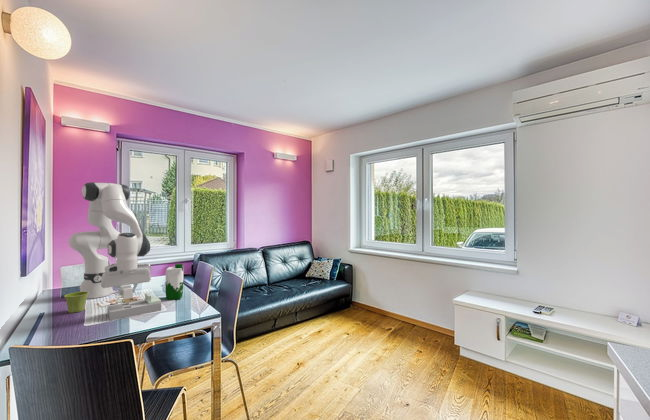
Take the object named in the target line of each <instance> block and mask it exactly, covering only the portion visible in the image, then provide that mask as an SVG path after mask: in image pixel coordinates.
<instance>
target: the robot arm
mask: <svg viewBox="0 0 650 420" xmlns="http://www.w3.org/2000/svg"><path fill="white" fill-rule="evenodd" d="M130 190H131V189H130V188H129V187H128V185H126V184H121V183H120V184H119V183H112V182H94V181H93V182H86V183H84V185H83V186H82V188H81V194H82V197H83V199H84V200H86V201H89V204H88V213H87V222H88V223H89V224H90V226H91V225H92V226H94V227H96V228H98V230H97V231H95V230H94V231H81V232H76V233H75V232H74V233H72V235H70V237H69V239H68V245H69V246H70V248H71V249H72V250H74V251H76V252H77V253H79V254H80V255H81V257H82V258H83V261H84V274H83V282H81V283H80V285H79V292H89V293H88V295H87V297H86V300H88V299H90V300H91V299H98V298H103V297H107V296H110V295H112V294H115V293H118V296H121V295H122V294H123V291H121V286H127V285H130V286H131V285H133V287H132V288H133V294H135V292H136V289H137V287H138V284H143V283H149V282H150V281H151V280H152V279H151V277H152V276H151V271H152V267H151V265H150V264H148V263H143V264H138V262H139V261H138V257H144V256H146V255H147V254H148V253H150V251H151V243H150V241H149V238H147V235H146V233H145V231H144V229H143V226H142V225H141V221H140V220H139V217H138V215H137V213H136V212H134V211H132V210H131V209H130V207H129V206H128V204H127V201H128V200H129V198H130V196H131V191H130ZM112 222H118V223H122V224H125V225H127V226H129V227H130V229H131V231H132V232H122V233H121V232H120V231H119V230H117V229H116V228H115V227H114V225H113V223H112ZM102 249H103V250H104V249H107V255H109V256H110V257H111V258H115V259H116V261H115V263H111V264H109V258H108V257H107V256H105V255H103V254H100V253H98V251H97V250H102ZM114 287H115V289H116V290H117V291H116V290H114V289H113V288H114Z"/></svg>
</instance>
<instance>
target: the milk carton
mask: <svg viewBox="0 0 650 420" xmlns="http://www.w3.org/2000/svg"><path fill="white" fill-rule="evenodd" d="M164 290H165V299H166V300H165V301H180V300H181V299H182V297H183V293H184V266H183V263H175V264H174V266H169V267H167V268H166V269H165V289H164Z"/></svg>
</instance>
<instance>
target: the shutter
mask: <svg viewBox="0 0 650 420" xmlns="http://www.w3.org/2000/svg"><path fill="white" fill-rule="evenodd" d="M144 300H145V301H146V302H147V303H148V304H153V303H159V302H161V303H162V300H161V299H160V298H159V297H158V296H152V295H151V294H150V293H148V292H145V293H144Z"/></svg>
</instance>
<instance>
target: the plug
mask: <svg viewBox="0 0 650 420" xmlns="http://www.w3.org/2000/svg"><path fill="white" fill-rule="evenodd" d="M120 291H123V294H122V295H120V296H121V298H122V300H125V303H130V298H134V297H133V294H134V293H133V287H132V286H131V284H130V285H123V286H120Z"/></svg>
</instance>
